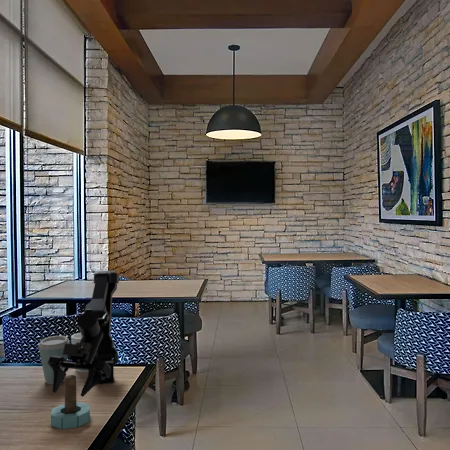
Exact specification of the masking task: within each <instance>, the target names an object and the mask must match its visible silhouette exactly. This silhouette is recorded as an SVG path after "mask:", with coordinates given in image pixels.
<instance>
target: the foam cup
mask: <svg viewBox="0 0 450 450" xmlns="http://www.w3.org/2000/svg"><path fill="white" fill-rule="evenodd" d="M81 338H82V335H81V332H77V333H74V334H72V335H71V336H70V339H71V340H70V341H71V343H70V344H76V343H80V341H81ZM75 371H76V372H77V373H88V370H80V369H75Z"/></svg>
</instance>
